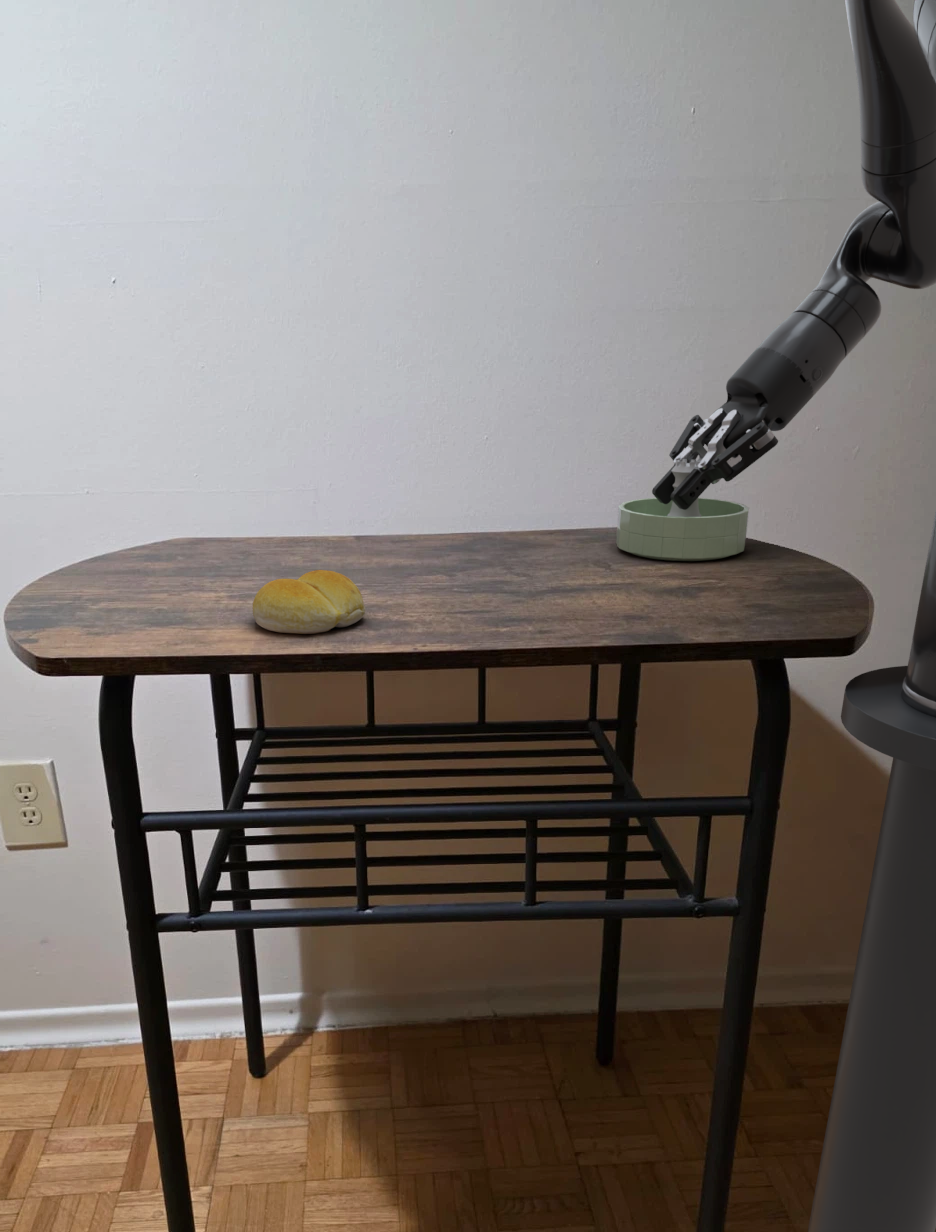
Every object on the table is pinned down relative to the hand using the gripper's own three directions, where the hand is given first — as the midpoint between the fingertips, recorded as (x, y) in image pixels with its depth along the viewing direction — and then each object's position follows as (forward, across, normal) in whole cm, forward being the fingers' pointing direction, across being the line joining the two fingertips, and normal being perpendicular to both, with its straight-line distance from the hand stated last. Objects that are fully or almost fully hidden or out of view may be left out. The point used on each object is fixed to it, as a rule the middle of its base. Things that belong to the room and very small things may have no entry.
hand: (668, 500), depth 100 cm
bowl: (+2, 0, +5) cm, 6 cm away
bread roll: (+32, +15, -25) cm, 43 cm away
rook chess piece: (+2, 0, +4) cm, 5 cm away
